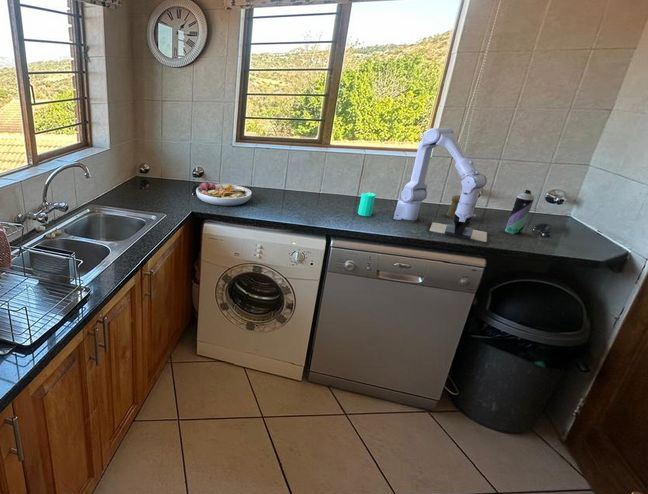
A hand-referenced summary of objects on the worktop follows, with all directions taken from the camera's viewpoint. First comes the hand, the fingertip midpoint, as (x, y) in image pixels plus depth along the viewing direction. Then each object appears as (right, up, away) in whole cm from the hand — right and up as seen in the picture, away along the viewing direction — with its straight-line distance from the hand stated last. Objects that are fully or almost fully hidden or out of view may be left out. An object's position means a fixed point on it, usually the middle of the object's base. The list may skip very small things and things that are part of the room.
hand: (457, 233), depth 172 cm
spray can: (+28, -1, +5) cm, 29 cm away
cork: (+17, +7, +25) cm, 32 cm away
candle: (-24, +9, +29) cm, 39 cm away
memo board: (+4, 0, +5) cm, 7 cm away
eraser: (0, -1, 0) cm, 1 cm away
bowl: (-91, +18, +51) cm, 106 cm away
